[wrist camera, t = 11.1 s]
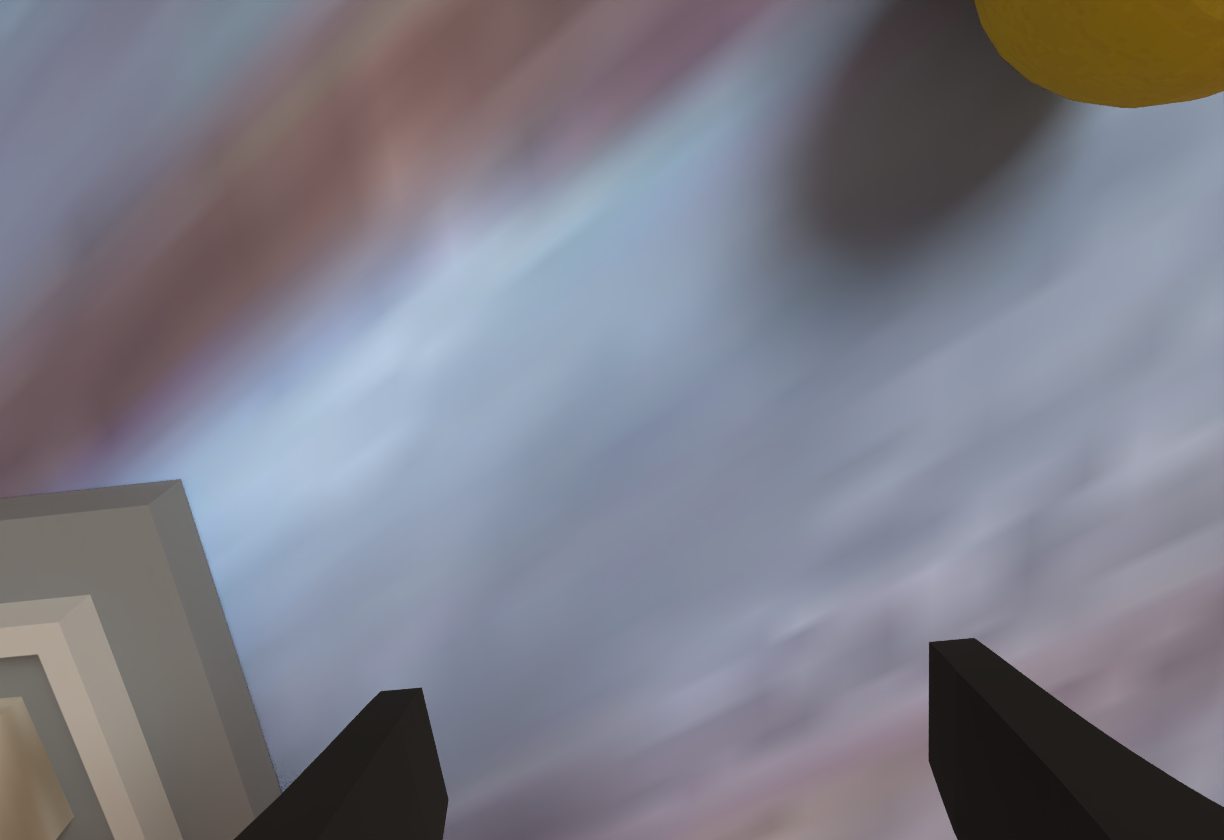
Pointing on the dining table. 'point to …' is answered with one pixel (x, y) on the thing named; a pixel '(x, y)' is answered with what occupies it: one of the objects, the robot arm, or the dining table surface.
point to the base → (129, 665)
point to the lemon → (1112, 47)
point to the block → (27, 780)
